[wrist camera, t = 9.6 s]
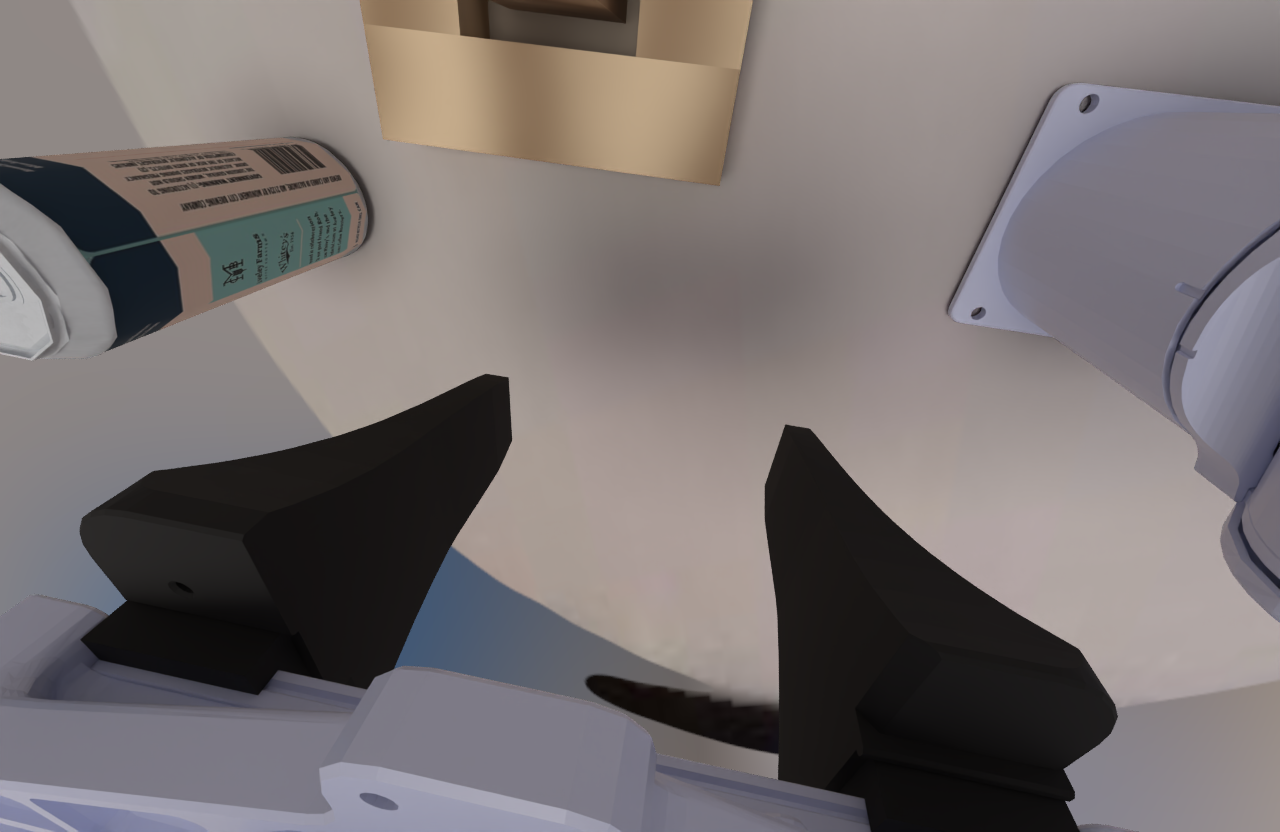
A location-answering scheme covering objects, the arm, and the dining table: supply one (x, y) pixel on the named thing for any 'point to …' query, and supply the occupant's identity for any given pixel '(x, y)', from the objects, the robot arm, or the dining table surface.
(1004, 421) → the dining table surface
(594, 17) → the walnut peg
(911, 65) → the dining table surface
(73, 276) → the beer can
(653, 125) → the oak socket block
